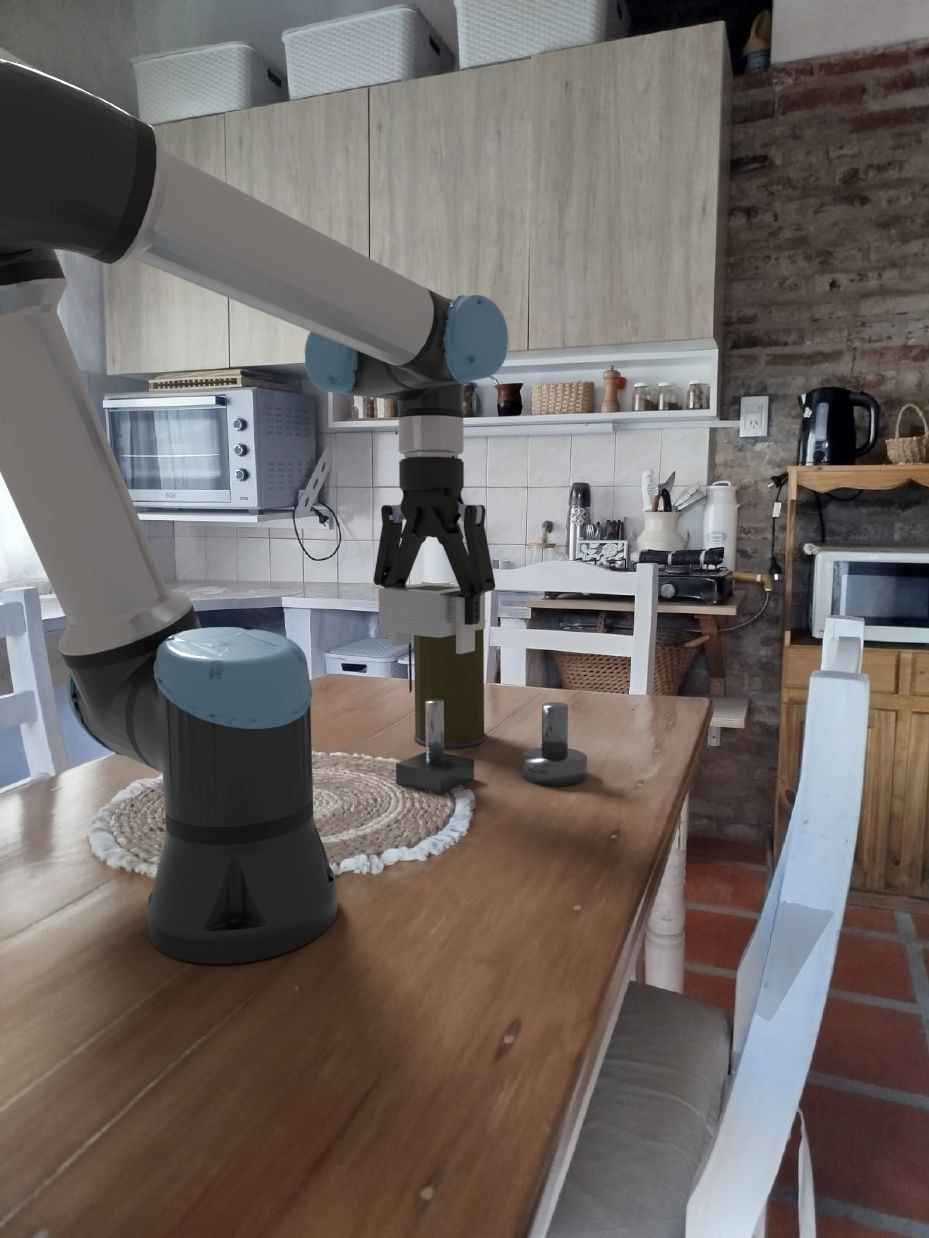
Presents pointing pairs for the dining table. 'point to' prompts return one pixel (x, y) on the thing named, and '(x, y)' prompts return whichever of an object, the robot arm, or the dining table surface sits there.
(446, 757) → the stand
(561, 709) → the cylinder
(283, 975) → the dining table surface
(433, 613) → the grey square ring block
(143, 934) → the dining table surface
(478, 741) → the canister
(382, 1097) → the dining table surface
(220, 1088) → the dining table surface
